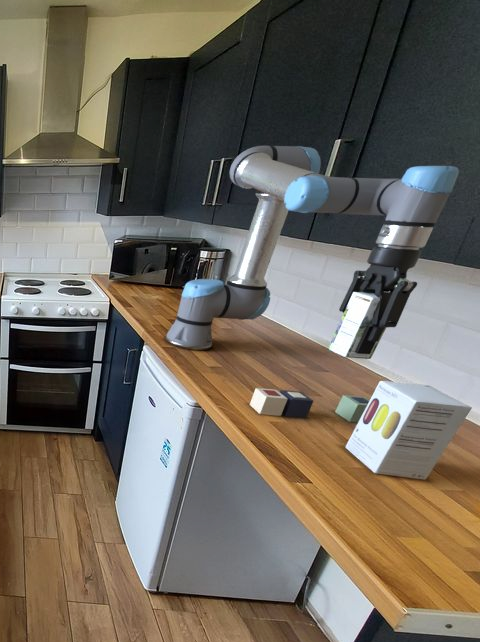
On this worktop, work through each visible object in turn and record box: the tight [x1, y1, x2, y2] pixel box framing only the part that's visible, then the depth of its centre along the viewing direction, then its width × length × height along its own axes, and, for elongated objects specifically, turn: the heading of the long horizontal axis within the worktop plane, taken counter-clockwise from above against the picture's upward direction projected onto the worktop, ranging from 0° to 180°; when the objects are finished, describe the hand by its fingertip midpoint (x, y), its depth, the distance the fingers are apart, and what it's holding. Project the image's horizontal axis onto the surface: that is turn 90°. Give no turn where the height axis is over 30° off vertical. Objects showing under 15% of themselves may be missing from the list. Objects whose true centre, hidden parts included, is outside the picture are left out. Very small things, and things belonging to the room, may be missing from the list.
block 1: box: [249, 387, 287, 417], centre depth 102 cm, size 5×5×5 cm
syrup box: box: [328, 292, 387, 360], centre depth 92 cm, size 6×6×14 cm
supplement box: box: [345, 380, 473, 480], centre depth 81 cm, size 10×9×17 cm
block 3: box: [334, 394, 370, 424], centre depth 100 cm, size 5×5×5 cm
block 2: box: [279, 389, 314, 419], centre depth 102 cm, size 5×5×5 cm
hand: (351, 348), depth 95 cm, fingers closed on syrup box, 6 cm apart
